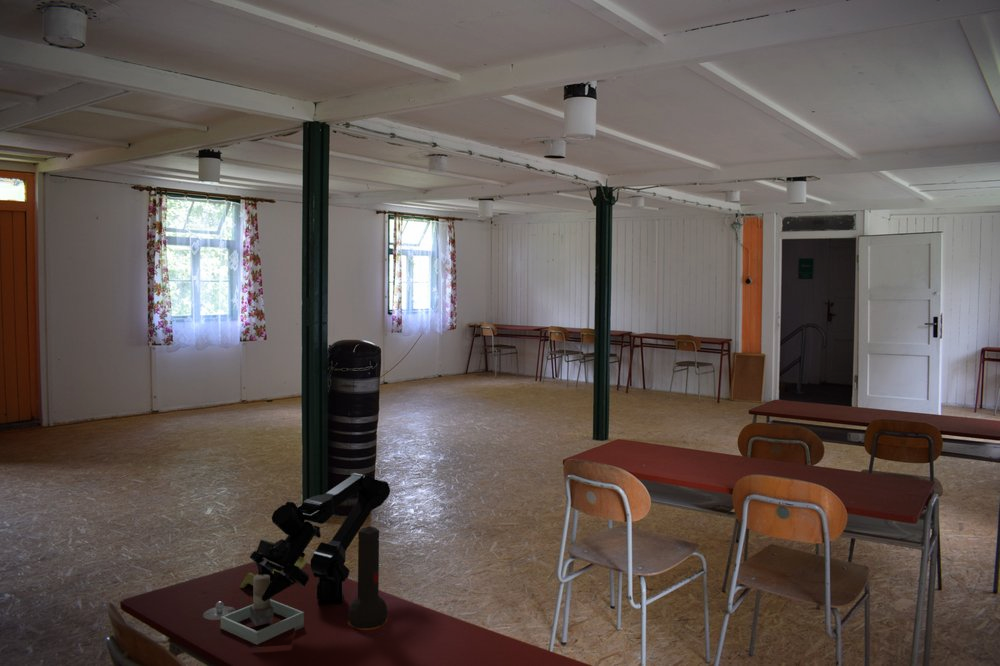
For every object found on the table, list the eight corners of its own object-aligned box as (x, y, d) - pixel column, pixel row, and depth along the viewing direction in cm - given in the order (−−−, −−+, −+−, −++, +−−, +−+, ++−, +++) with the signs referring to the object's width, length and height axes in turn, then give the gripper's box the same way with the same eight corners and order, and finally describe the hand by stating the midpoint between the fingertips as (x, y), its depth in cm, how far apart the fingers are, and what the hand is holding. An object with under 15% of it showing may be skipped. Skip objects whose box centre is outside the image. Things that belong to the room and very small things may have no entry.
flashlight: (340, 622, 186) (368, 633, 181) (341, 527, 185) (369, 535, 180) (367, 609, 195) (394, 618, 189) (368, 518, 193) (396, 524, 188)
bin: (267, 612, 192) (268, 598, 191) (303, 626, 184) (303, 612, 183) (220, 631, 180) (220, 617, 180) (256, 648, 172) (256, 632, 172)
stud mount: (238, 609, 193) (238, 594, 193) (232, 622, 185) (232, 607, 185) (206, 610, 192) (206, 596, 191) (199, 624, 184) (199, 609, 183)
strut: (267, 615, 184) (267, 572, 184) (273, 621, 181) (273, 578, 180) (250, 619, 182) (250, 576, 181) (255, 625, 178) (255, 582, 178)
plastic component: (273, 589, 201) (245, 570, 203) (264, 610, 203) (236, 591, 205) (312, 560, 220) (286, 542, 222) (304, 579, 221) (278, 562, 224)
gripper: (256, 519, 189) (216, 572, 181) (298, 535, 178) (258, 593, 170) (282, 541, 196) (245, 593, 188) (324, 558, 184) (287, 614, 176)
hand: (258, 598), depth 180 cm, fingers closed on strut, 4 cm apart
